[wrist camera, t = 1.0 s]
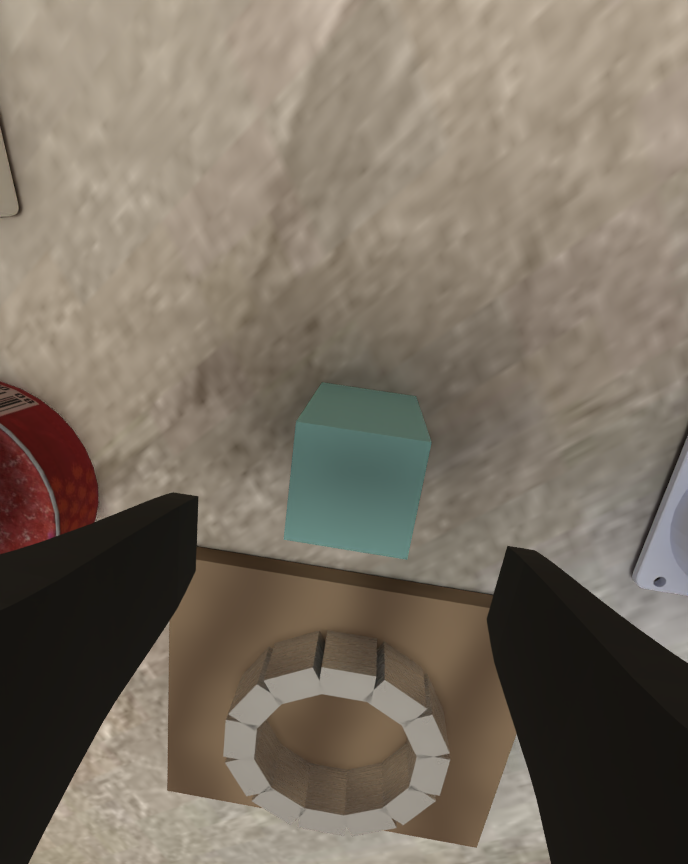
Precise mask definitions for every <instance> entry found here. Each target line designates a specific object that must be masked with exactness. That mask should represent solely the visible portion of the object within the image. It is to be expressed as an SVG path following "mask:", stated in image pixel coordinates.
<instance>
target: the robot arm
mask: <svg viewBox="0 0 688 864" xmlns="http://www.w3.org/2000/svg"><path fill="white" fill-rule="evenodd" d="M197 521H198V496H192V495H186V494H180V493H169V494H166V495H163V496H160V497H157V498H154V499H152V500H149V501H147V502H144V503H142V504H139V505H137V506H134V507H132V508H129V509H127V510H124V511H122V512H119V513H117V514H114V515H112V516H109V517H107V518H104V519H102V520H99V521H97V522H94V523H92V524H89V525H86V526H83V527H81V528H78V529H75V530H72V531H70V532H67V533H64V534H61V535H58V536H56V537H53V538H50V539H47V540H45V541H42V542H39V543H36V544H33V545H30V546H26V547H23V548H20V549H17V550H13V551H10V552H6V553H3V554H0V864H28V863H29V861H30V859H31V857H32V855H33V853H34V851H35V849H36V847H37V845H38V843H39V841H40V839H41V837H42V835H43V833H44V831H45V829H46V827H47V826H48V824H49V822H50V820H51V818H52V816H53V814H54V812H55V810H56V808H57V806H58V804H59V803H60V801H61V799H62V797H63V795H64V793H65V791H66V789H67V787H68V785H69V783H70V781H71V780H72V778H73V776H74V774H75V772H76V770H77V768H78V767H79V765H80V763H81V761H82V759H83V757H84V756H85V754H86V752H87V750H88V748H89V746H90V745H91V743H92V741H93V739H94V737H95V735H96V734H97V732H98V730H99V728H100V726H101V725H102V723H103V721H104V719H105V718H106V716H107V714H108V713H109V711H110V710H111V708H112V706H113V705H114V703H115V702H116V700H117V698H118V697H119V695H120V694H121V692H122V691H123V689H124V688H125V686H126V685H127V683H128V682H129V680H130V679H131V677H132V676H133V675H134V673H135V672H136V670H137V669H138V667H139V666H140V664H141V663H142V661H143V660H144V658H145V657H146V655H147V654H148V652H149V651H150V649H151V648H152V646H153V645H154V643H155V642H156V640H157V639H158V637H159V636H160V634H161V633H162V631H163V630H164V628H165V627H166V625H167V624H168V622H169V621H170V619H171V618H172V616H173V615H174V613H175V611H176V610H177V608H178V606H179V604H180V602H181V600H182V598H183V597H184V595H185V593H186V591H187V588H188V586H189V584H190V582H191V580H192V578H193V576H194V574H195V572H196V551H197ZM658 577H661V578H660V579H659V580H657V581H654V580H655V579H656V578H658ZM632 578H633V581H634V582H635V583H636V584H637V585H638V586H639V587H640V588H643V589H648V590H654V591H660V592H667V593H673V594H679V595H685V596H688V436H687V439H686V441H685V444H684V446H683V449H682V451H681V454H680V456H679V459H678V461H677V464H676V466H675V469H674V471H673V474H672V476H671V479H670V481H669V484H668V486H667V489H666V491H665V494H664V496H663V499H662V501H661V504H660V506H659V509H658V511H657V514H656V516H655V519H654V521H653V524H652V526H651V529H650V531H649V534H648V536H647V539H646V541H645V544H644V546H643V549H642V551H641V554H640V556H639V559H638V561H637V564H636V566H635V569H634V571H633V575H632ZM486 620H487V626H488V632H489V638H490V644H491V649H492V654H493V659H494V664H495V667H496V670H497V674H498V677H499V680H500V683H501V686H502V690H503V693H504V696H505V699H506V702H507V705H508V708H509V712H510V715H511V718H512V721H513V724H514V727H515V730H516V733H517V736H518V739H519V743H520V746H521V749H522V752H523V755H524V758H525V761H526V764H527V767H528V770H529V774H530V777H531V781H532V785H533V788H534V792H535V795H536V799H537V803H538V807H539V812H540V816H541V821H542V825H543V830H544V834H545V838H546V843H547V847H548V852H549V856H550V861H551V864H688V663H687V662H685V661H684V660H682V659H681V658H679V657H678V656H676V655H675V654H673V653H672V652H670V651H669V650H667V649H666V648H665V647H663V646H662V645H660V644H659V643H658V642H656V641H655V640H653V639H652V638H651V637H649V636H648V635H646V634H645V633H644V632H642V631H641V630H639V629H638V628H637V627H635V626H634V625H633V624H631V623H630V622H629V621H627V620H626V619H625V618H623V617H622V616H621V615H619V614H618V613H617V612H615V611H614V610H613V609H611V608H610V607H609V606H607V605H606V604H605V603H604V602H602V601H601V600H600V599H598V598H597V597H596V596H595V595H593V594H592V593H591V592H589V591H588V590H587V589H586V588H584V587H583V586H582V585H581V584H579V583H578V582H577V581H576V580H574V579H573V578H572V577H571V576H569V575H568V574H567V573H565V572H564V571H563V570H562V569H560V568H559V567H558V566H556V565H555V564H554V563H552V562H551V561H550V560H548V559H547V558H546V557H544V556H543V555H541V554H540V553H538V552H537V551H535V550H529V549H523V548H517V547H511V546H507V550H506V553H505V557H504V560H503V564H502V567H501V571H500V574H499V577H498V581H497V584H496V588H495V591H494V595H493V598H492V602H491V605H490V609H489V612H488V616H487V619H486Z"/></svg>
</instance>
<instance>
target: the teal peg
mask: <svg viewBox="0 0 688 864" xmlns="http://www.w3.org/2000/svg"><path fill="white" fill-rule="evenodd" d="M431 443H432V442H431V439H430V436H429V433H428V430H427V427H426V424H425V421H424V418H423V415H422V413H421V410H420V407H419V404H418V401H417V398H416V396H411V395H404V394H397V393H391V392H384V391H377V390H370V389H364V388H357V387H350V386H344V385H337V384H330V383H324V382H322V383H321V385H320V386H319V388H318V389H317V391H316V392H315V394H314V395H313V397H312V398H311V400H310V401H309V403H308V404H307V406H306V407H305V409H304V410H303V412H302V413H301V415H300V416H299V418H298V419H297V421H296V427H295V437H294V446H293V456H292V465H291V475H290V485H289V494H288V504H287V513H286V523H285V532H284V540H290V541H296V542H302V543H308V544H314V545H320V546H327V547H333V548H339V549H345V550H351V551H357V552H363V553H370V554H376V555H382V556H388V557H394V558H400V559H406V560H407V558H408V553H409V548H410V543H411V539H412V534H413V529H414V524H415V519H416V515H417V510H418V505H419V500H420V495H421V491H422V486H423V481H424V476H425V471H426V467H427V462H428V457H429V452H430V447H431Z"/></svg>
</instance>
